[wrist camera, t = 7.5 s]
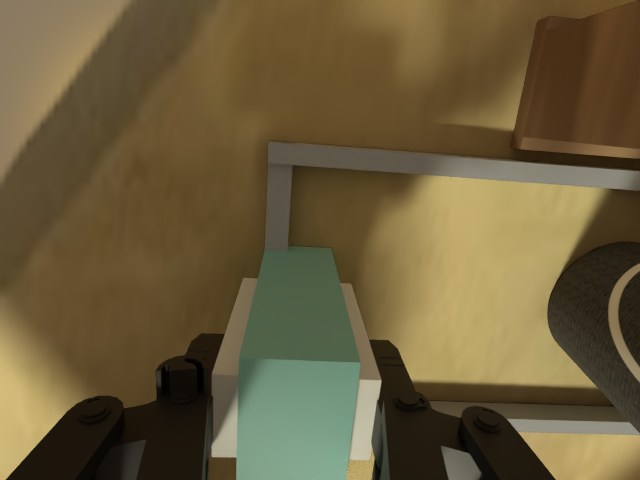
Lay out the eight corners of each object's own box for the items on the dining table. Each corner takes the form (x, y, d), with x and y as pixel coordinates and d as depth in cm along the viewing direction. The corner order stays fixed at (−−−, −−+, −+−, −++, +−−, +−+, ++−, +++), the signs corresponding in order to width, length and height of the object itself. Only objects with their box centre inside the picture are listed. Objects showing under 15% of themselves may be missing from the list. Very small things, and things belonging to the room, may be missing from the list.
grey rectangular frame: (258, 408, 21) (232, 611, 13) (270, 140, 17) (243, 168, 9) (653, 419, 23) (869, 605, 14) (748, 177, 19) (1128, 232, 10)
